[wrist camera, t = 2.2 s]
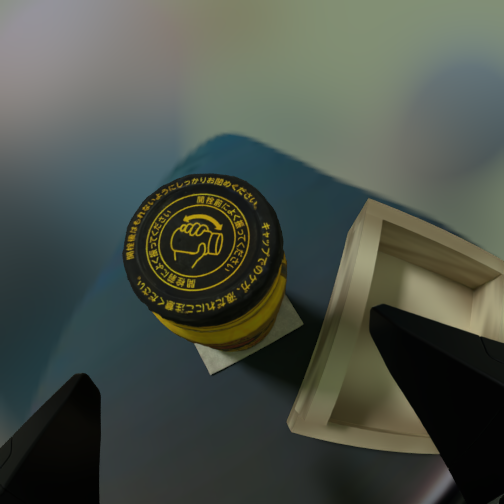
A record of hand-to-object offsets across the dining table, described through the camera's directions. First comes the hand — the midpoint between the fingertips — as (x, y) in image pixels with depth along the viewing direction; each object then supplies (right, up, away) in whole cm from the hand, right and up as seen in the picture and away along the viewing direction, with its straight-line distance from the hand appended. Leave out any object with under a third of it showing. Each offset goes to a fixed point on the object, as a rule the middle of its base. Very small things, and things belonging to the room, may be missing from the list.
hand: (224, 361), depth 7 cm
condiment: (-1, 0, +12) cm, 13 cm away
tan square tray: (+12, -4, +10) cm, 16 cm away
